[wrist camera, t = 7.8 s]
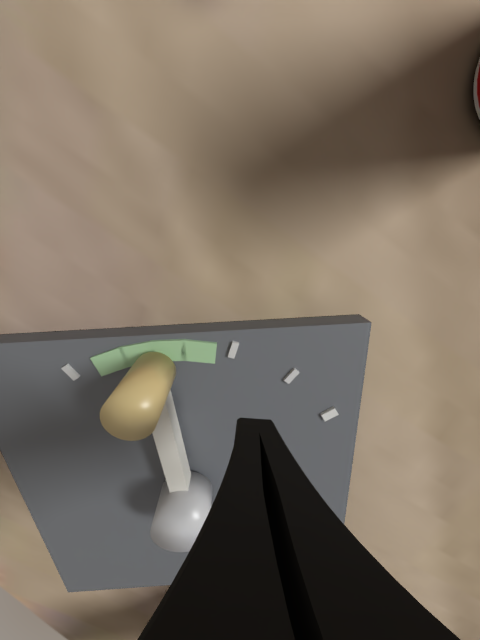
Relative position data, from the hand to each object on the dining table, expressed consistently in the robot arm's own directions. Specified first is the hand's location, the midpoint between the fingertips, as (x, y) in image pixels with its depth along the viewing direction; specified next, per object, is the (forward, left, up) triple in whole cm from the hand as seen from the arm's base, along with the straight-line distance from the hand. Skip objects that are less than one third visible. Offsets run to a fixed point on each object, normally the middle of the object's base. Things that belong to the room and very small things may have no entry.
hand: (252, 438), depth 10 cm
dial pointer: (-5, +5, -5) cm, 9 cm away
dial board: (-10, +5, -7) cm, 13 cm away
